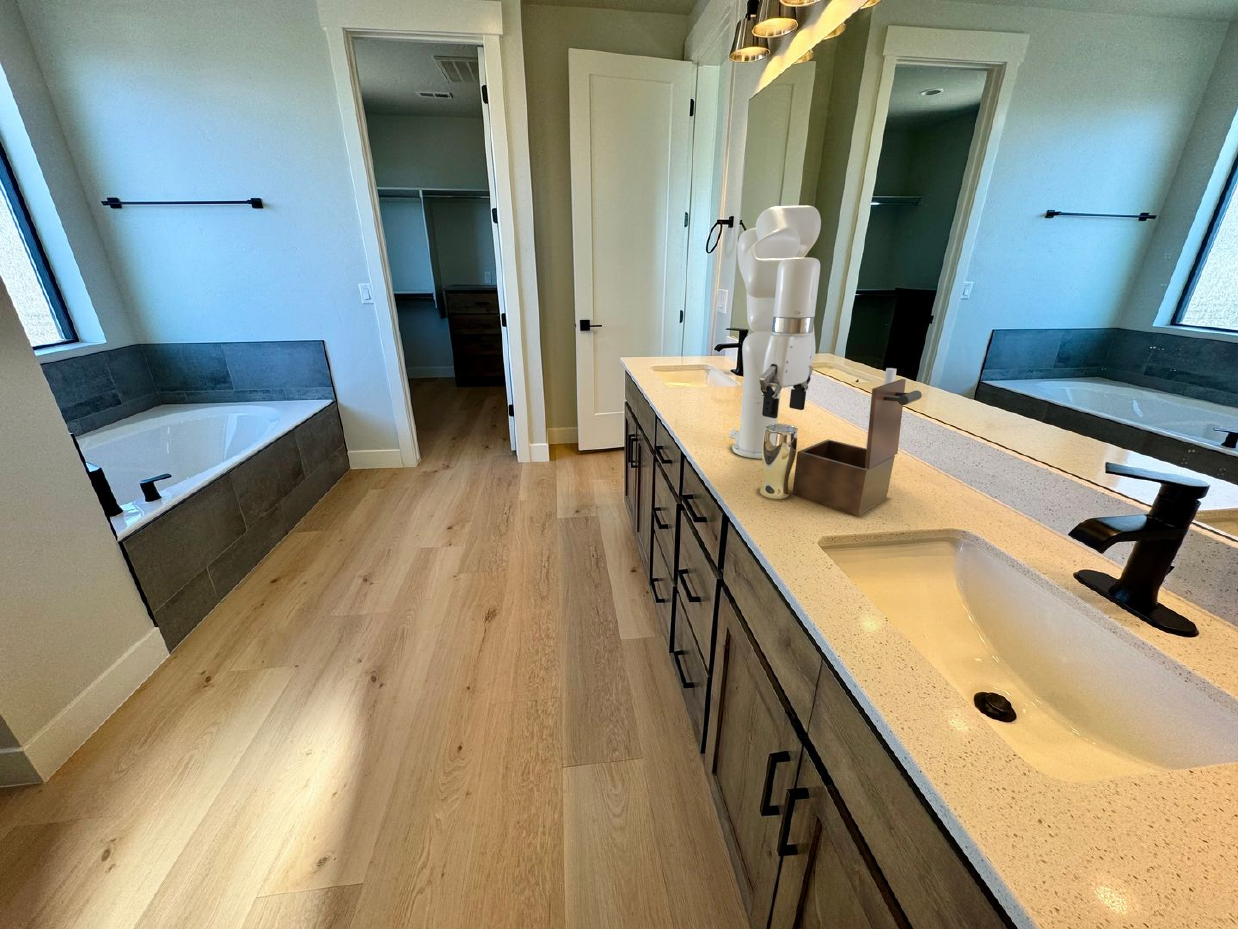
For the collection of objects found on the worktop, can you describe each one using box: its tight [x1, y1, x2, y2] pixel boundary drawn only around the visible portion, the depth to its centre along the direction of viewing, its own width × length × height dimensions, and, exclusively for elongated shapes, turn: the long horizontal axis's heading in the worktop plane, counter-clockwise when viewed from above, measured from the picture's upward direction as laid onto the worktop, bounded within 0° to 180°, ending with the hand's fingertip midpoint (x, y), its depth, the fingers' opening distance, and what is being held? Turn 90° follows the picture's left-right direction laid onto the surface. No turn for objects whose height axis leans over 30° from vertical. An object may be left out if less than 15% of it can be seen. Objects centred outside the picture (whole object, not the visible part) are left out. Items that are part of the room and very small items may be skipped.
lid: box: [865, 378, 923, 469], centre depth 93 cm, size 15×13×5 cm
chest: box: [791, 438, 896, 517], centre depth 104 cm, size 15×13×10 cm
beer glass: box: [759, 423, 799, 500], centre depth 105 cm, size 7×7×15 cm
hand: (783, 412), depth 101 cm, fingers open, 9 cm apart
